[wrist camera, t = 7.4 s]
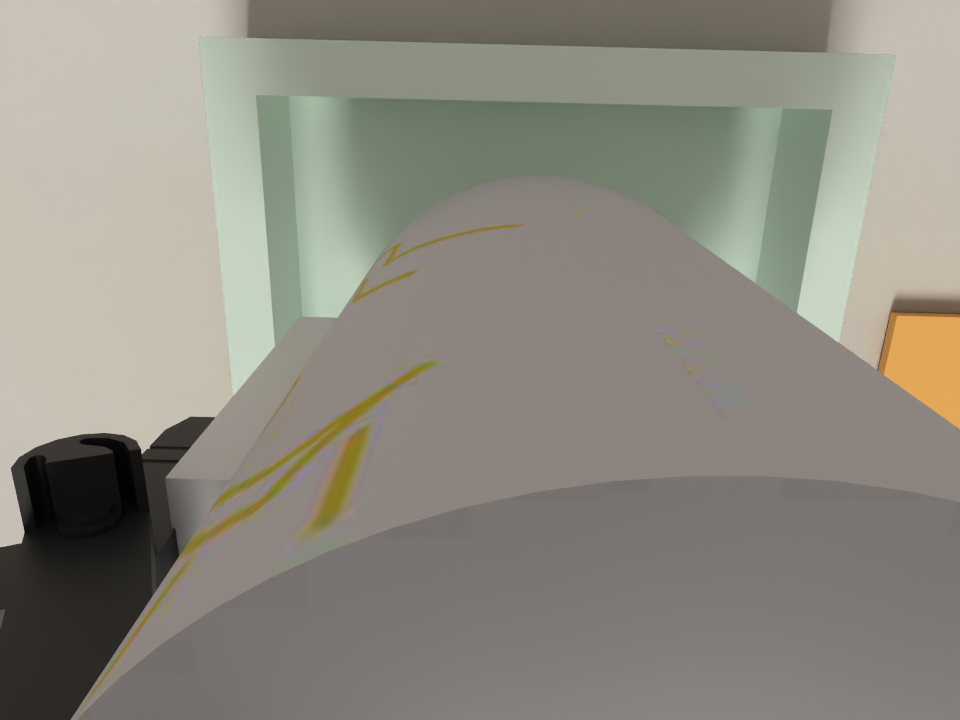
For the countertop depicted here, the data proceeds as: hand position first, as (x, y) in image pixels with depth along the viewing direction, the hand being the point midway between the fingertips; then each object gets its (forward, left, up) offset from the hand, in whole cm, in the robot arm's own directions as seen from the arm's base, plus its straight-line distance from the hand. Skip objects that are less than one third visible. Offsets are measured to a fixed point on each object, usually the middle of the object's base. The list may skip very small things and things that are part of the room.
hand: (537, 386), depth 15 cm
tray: (0, 0, -4) cm, 4 cm away
